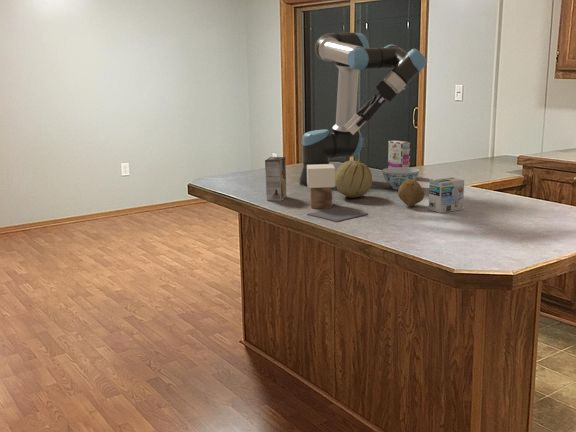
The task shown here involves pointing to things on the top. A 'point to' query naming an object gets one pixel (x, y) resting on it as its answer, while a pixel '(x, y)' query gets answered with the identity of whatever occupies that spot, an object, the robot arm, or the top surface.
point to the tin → (321, 197)
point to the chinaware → (399, 175)
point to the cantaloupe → (353, 179)
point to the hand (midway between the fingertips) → (348, 130)
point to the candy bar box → (398, 154)
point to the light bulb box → (446, 195)
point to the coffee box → (275, 178)
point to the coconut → (410, 192)
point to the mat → (337, 214)
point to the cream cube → (320, 175)
